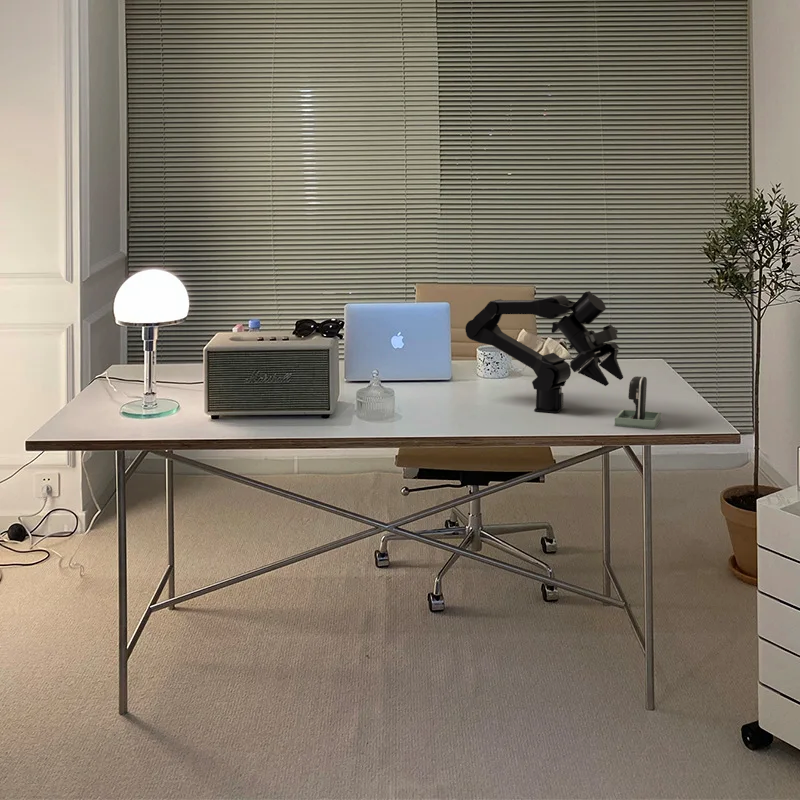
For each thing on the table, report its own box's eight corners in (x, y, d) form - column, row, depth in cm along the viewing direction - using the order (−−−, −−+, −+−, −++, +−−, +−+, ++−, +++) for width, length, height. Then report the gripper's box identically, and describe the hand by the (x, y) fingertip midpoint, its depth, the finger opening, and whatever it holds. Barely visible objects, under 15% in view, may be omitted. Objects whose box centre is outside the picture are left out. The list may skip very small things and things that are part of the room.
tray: (614, 425, 266) (614, 417, 266) (621, 417, 275) (622, 409, 275) (654, 429, 263) (654, 421, 262) (660, 420, 272) (661, 412, 271)
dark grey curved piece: (630, 417, 272) (632, 374, 270) (645, 418, 271) (647, 375, 269) (626, 423, 266) (628, 379, 264) (641, 424, 265) (643, 380, 262)
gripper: (583, 320, 262) (622, 368, 259) (614, 311, 277) (651, 357, 273) (553, 347, 268) (591, 395, 265) (585, 337, 283) (621, 382, 280)
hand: (614, 381), depth 270 cm, fingers open, 9 cm apart
